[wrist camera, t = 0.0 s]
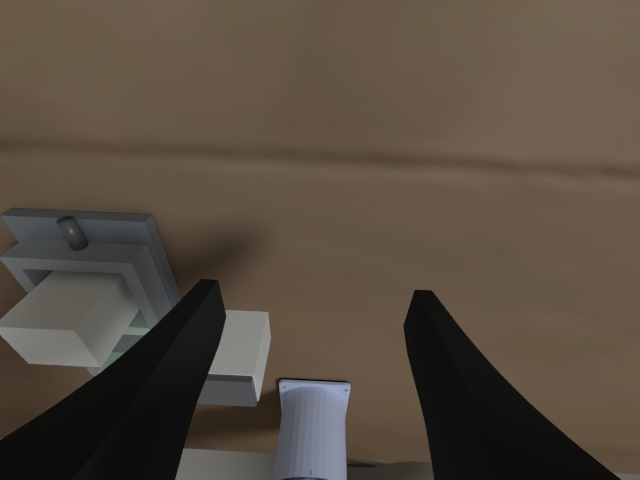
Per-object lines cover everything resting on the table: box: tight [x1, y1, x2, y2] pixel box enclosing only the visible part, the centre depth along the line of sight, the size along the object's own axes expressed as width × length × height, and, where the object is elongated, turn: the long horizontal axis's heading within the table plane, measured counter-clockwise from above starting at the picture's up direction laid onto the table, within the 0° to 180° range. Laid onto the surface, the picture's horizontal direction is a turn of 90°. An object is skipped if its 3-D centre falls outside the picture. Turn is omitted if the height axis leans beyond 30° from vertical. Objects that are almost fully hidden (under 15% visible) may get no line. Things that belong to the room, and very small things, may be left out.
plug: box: [197, 310, 271, 407], centre depth 26 cm, size 4×5×6 cm
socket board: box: [0, 208, 182, 376], centre depth 24 cm, size 18×10×7 cm, turn 178°
